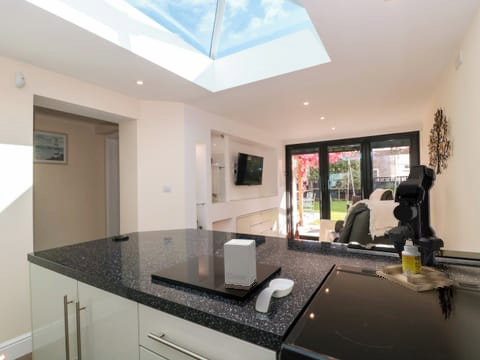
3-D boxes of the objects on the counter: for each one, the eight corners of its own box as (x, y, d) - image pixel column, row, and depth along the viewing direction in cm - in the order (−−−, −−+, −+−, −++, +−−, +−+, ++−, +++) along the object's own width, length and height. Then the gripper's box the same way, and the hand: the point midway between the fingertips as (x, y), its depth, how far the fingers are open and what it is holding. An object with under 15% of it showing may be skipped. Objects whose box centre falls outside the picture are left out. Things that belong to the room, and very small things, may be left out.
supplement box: (257, 281, 91) (256, 239, 91) (249, 291, 83) (249, 245, 83) (233, 279, 94) (232, 238, 94) (224, 288, 86) (223, 243, 86)
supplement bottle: (417, 279, 86) (415, 249, 87) (400, 275, 91) (398, 246, 91) (424, 275, 89) (423, 246, 90) (407, 271, 94) (405, 243, 94)
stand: (409, 270, 100) (409, 261, 100) (453, 285, 85) (453, 274, 85) (376, 274, 96) (376, 265, 96) (416, 291, 80) (416, 280, 80)
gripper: (371, 217, 97) (373, 258, 97) (418, 223, 80) (419, 273, 79) (394, 215, 101) (396, 255, 100) (444, 221, 83) (446, 270, 82)
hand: (412, 262), depth 90 cm, fingers open, 8 cm apart
